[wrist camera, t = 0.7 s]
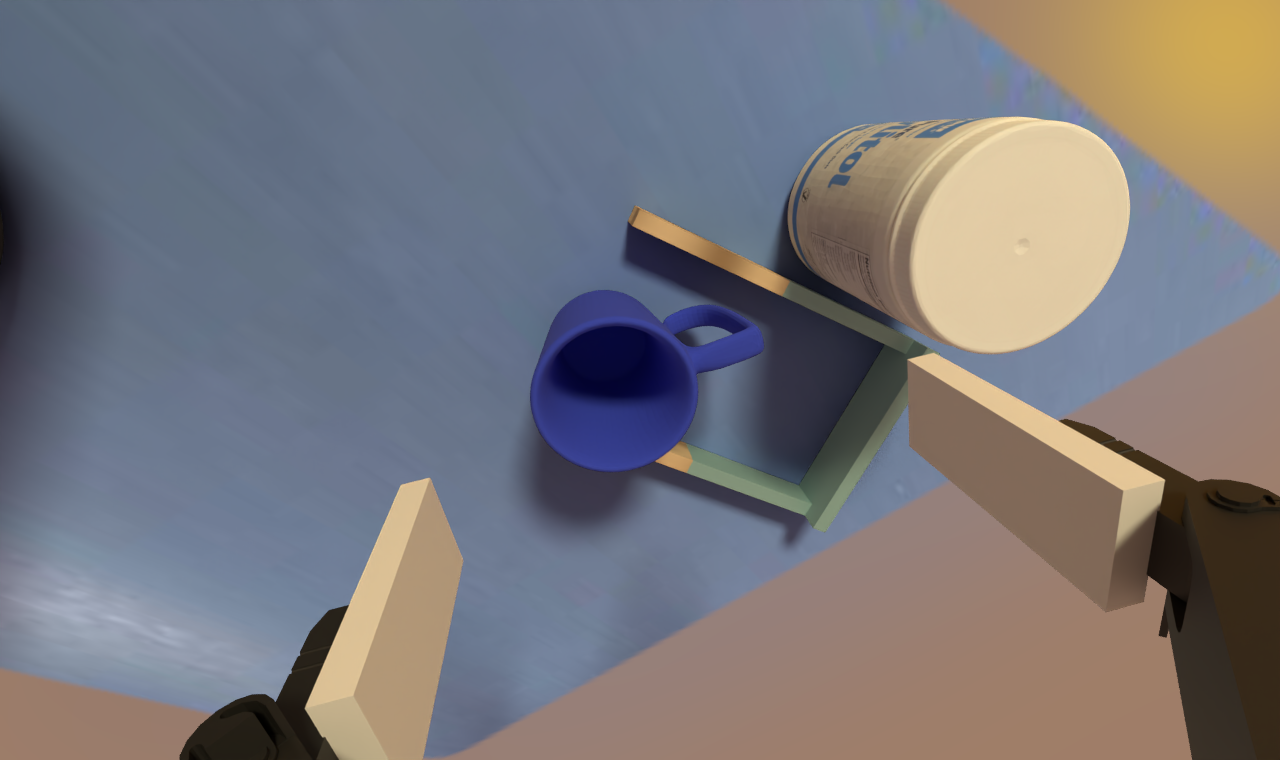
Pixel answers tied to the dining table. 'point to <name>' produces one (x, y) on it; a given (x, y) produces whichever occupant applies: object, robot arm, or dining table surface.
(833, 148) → the supplement tub
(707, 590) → the dining table surface
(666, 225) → the flange rails
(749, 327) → the mug
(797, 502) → the pocket
